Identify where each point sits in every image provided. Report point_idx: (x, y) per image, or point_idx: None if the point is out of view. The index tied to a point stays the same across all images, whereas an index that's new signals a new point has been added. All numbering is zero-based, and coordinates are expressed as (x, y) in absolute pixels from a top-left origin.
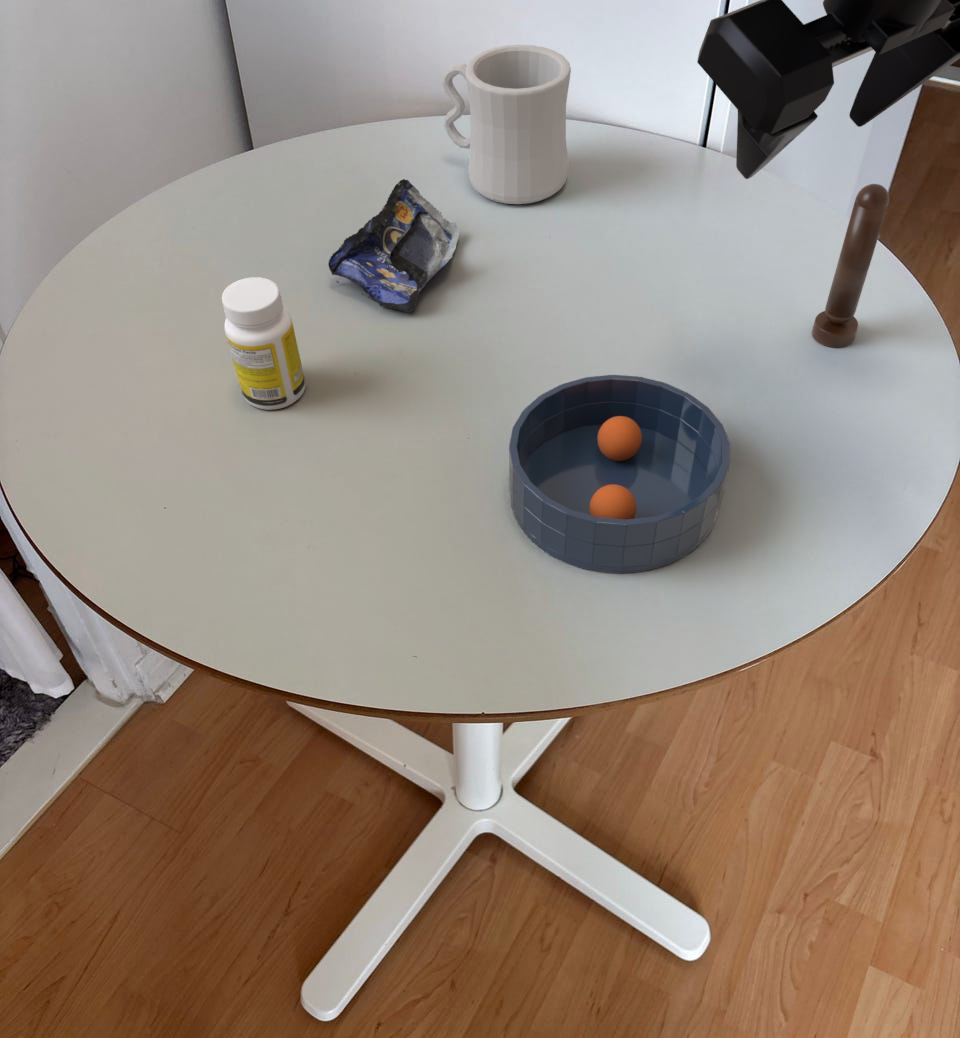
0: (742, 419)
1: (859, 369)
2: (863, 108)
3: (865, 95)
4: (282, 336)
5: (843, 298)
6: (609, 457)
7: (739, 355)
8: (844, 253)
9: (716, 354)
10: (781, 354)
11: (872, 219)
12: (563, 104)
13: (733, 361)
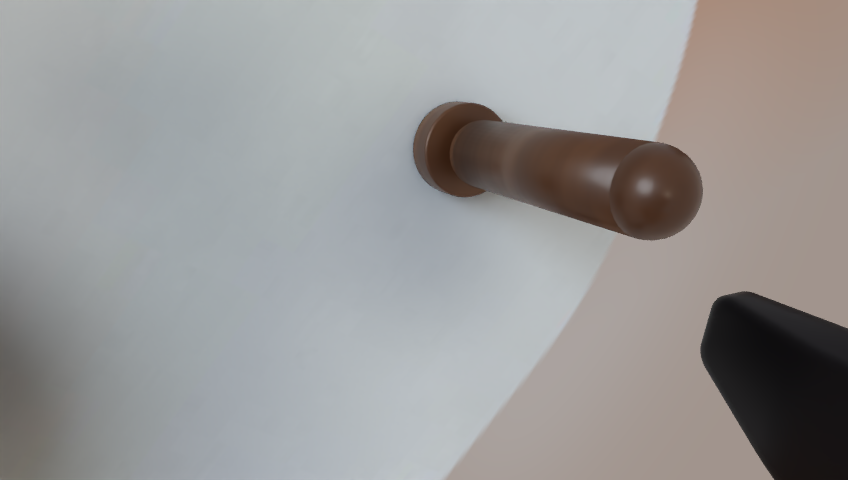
0: (103, 301)
1: (428, 265)
2: (765, 389)
3: (816, 412)
4: None
5: (481, 184)
6: None
7: (232, 104)
8: (527, 168)
9: (182, 72)
10: (320, 148)
11: (610, 228)
12: None
13: (205, 116)
